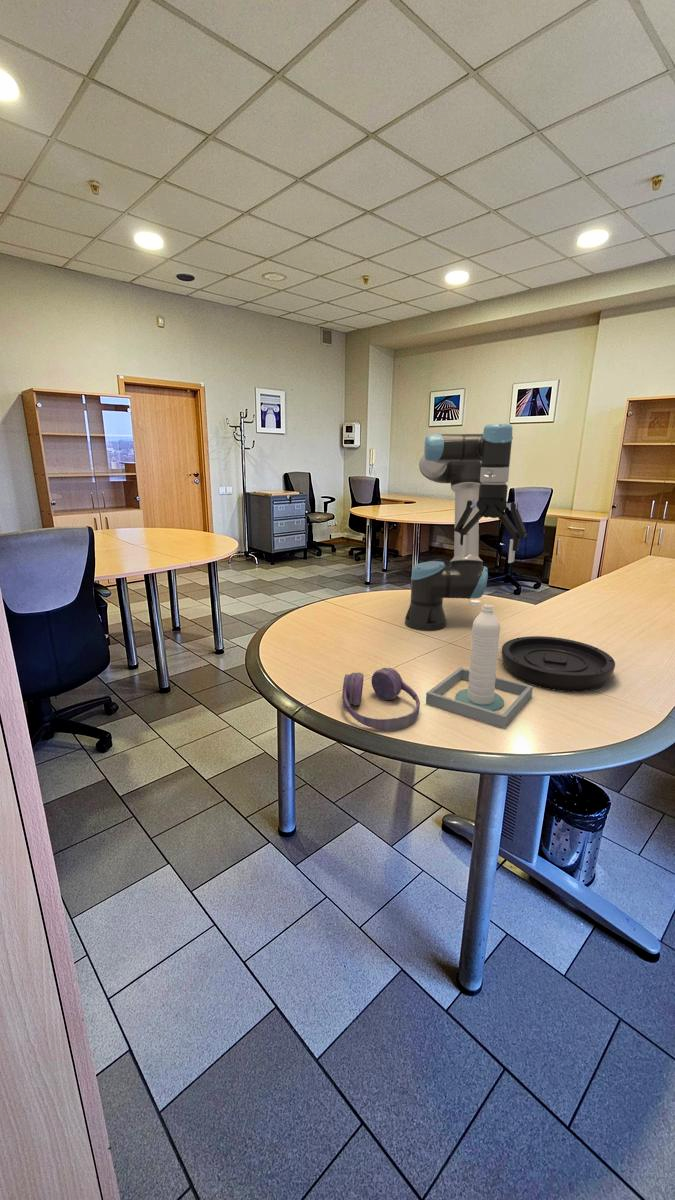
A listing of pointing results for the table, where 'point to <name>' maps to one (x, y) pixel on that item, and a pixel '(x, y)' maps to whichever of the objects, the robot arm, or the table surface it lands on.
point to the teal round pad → (494, 706)
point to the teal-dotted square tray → (476, 712)
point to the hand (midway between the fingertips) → (487, 559)
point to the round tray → (557, 663)
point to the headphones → (386, 687)
